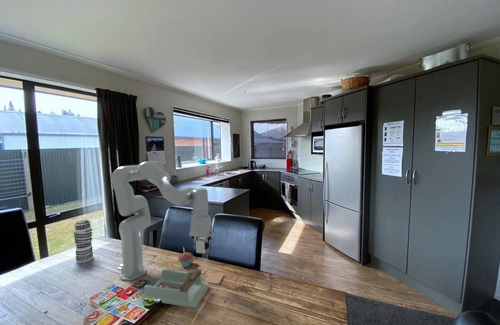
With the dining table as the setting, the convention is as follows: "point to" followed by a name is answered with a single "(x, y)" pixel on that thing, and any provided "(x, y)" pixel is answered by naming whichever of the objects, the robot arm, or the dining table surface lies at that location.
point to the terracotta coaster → (214, 278)
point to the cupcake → (185, 258)
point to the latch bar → (190, 279)
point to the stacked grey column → (83, 241)
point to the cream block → (200, 245)
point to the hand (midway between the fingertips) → (202, 248)
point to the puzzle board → (176, 289)
